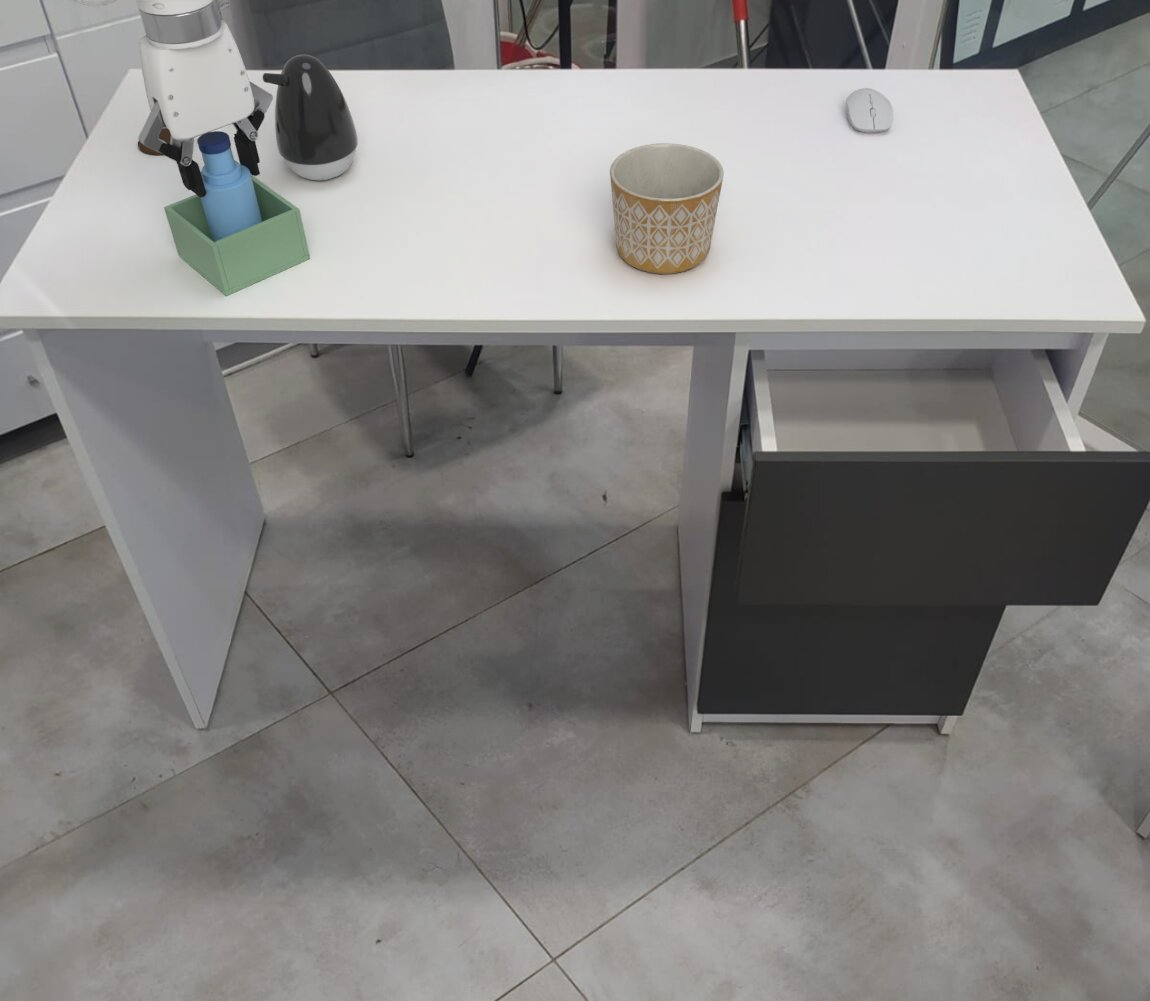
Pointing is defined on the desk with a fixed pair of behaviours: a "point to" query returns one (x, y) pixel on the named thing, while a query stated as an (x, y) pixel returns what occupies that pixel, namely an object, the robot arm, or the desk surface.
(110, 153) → the desk surface
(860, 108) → the computer mouse
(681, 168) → the planter
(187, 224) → the bin
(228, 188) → the bottle
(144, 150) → the coaster
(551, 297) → the desk surface
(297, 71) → the pump dispenser
